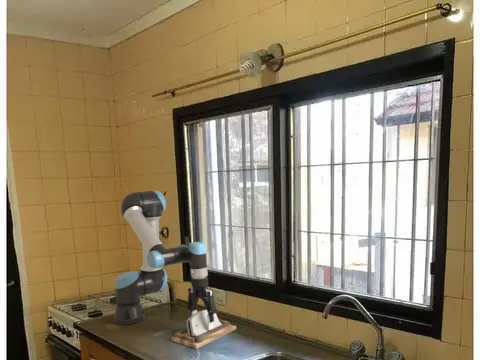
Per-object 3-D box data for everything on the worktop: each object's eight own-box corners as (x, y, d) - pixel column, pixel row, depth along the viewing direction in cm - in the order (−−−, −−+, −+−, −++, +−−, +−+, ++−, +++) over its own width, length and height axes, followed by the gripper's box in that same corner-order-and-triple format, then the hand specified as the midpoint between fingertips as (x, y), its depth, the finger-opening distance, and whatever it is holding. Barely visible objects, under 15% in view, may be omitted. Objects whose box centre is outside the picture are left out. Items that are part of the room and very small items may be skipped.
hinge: (196, 339, 172) (189, 316, 174) (189, 341, 175) (183, 317, 177) (223, 326, 184) (216, 305, 187) (216, 328, 187) (209, 307, 189)
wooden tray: (171, 340, 177) (170, 332, 176) (211, 322, 196) (210, 315, 196) (196, 348, 166) (196, 340, 166) (236, 329, 185) (235, 321, 185)
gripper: (176, 276, 186) (180, 325, 185) (211, 281, 171) (214, 334, 171) (188, 272, 191) (192, 320, 191) (223, 277, 177) (226, 328, 177)
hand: (202, 327), depth 181 cm, fingers open, 9 cm apart
